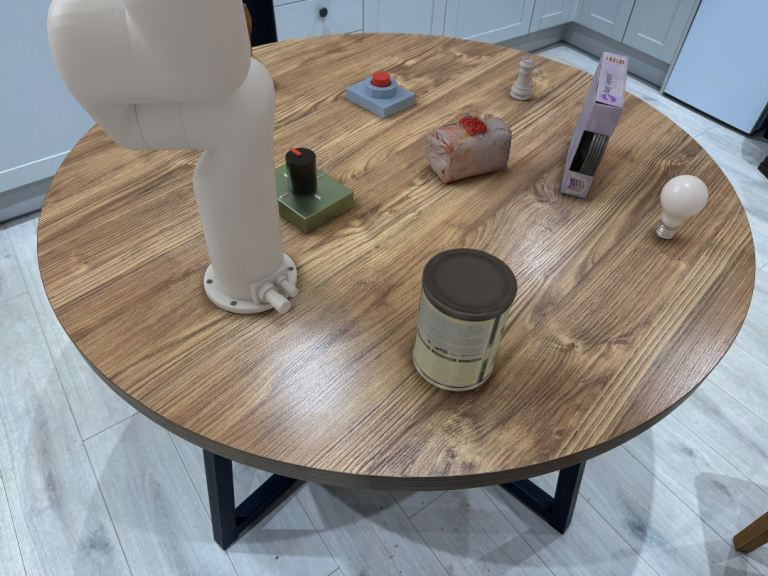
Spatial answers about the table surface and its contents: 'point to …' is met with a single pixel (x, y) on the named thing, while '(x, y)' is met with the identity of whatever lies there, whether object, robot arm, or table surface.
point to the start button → (381, 79)
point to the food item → (469, 148)
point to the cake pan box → (595, 124)
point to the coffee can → (462, 317)
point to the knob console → (312, 201)
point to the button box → (380, 97)
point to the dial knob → (301, 170)
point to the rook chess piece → (523, 80)
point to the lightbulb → (680, 203)
